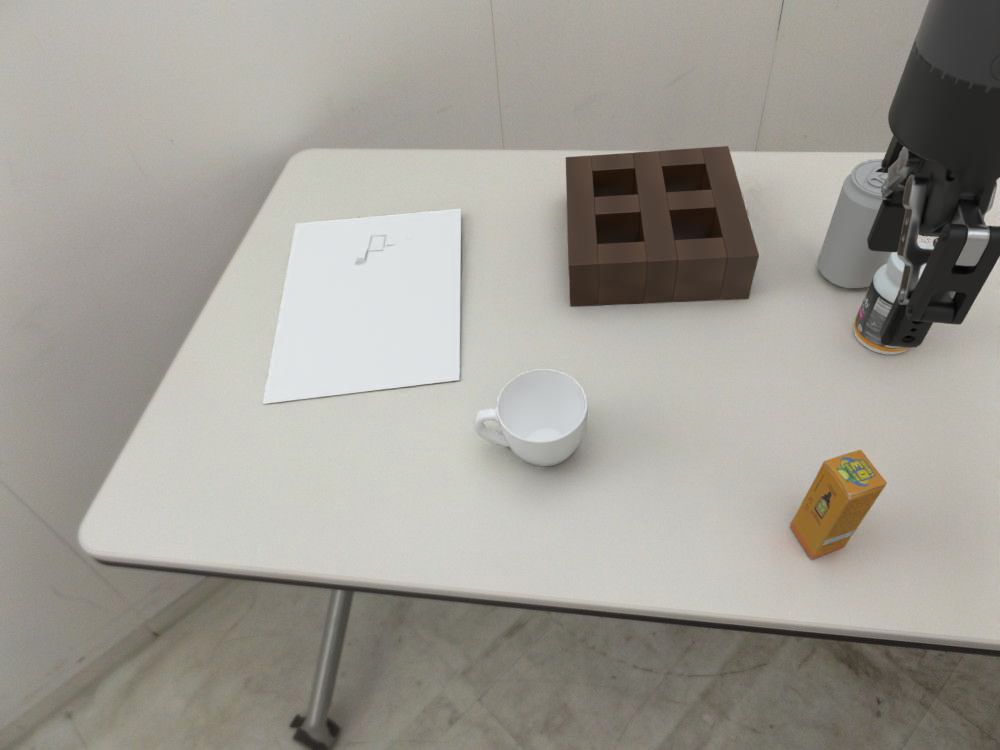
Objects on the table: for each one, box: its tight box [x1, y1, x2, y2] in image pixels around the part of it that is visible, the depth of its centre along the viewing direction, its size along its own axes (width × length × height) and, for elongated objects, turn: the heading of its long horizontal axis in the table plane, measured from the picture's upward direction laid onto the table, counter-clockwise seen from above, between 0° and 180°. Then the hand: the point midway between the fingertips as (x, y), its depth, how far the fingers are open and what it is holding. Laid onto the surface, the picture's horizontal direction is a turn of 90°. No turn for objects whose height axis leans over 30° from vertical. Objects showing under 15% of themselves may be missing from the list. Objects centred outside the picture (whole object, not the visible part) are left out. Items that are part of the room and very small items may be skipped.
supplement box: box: [789, 449, 888, 560], centre depth 51 cm, size 3×3×10 cm
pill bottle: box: [852, 241, 934, 355], centre depth 63 cm, size 6×6×10 cm
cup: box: [473, 368, 589, 467], centre depth 61 cm, size 8×10×7 cm
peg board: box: [565, 145, 760, 307], centre depth 76 cm, size 19×19×6 cm
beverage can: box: [816, 158, 892, 289], centre depth 68 cm, size 6×6×12 cm
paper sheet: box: [262, 208, 462, 405], centre depth 78 cm, size 24×29×1 cm
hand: (890, 292), depth 44 cm, fingers open, 8 cm apart
